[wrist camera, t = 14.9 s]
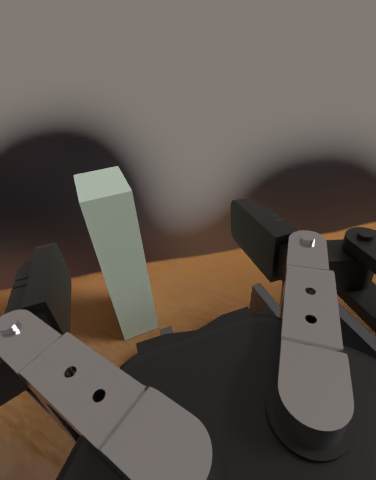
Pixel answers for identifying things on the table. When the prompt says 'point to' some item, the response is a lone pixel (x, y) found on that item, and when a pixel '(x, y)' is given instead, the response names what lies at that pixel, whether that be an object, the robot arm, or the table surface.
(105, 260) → the tall mint green block
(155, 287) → the table surface
